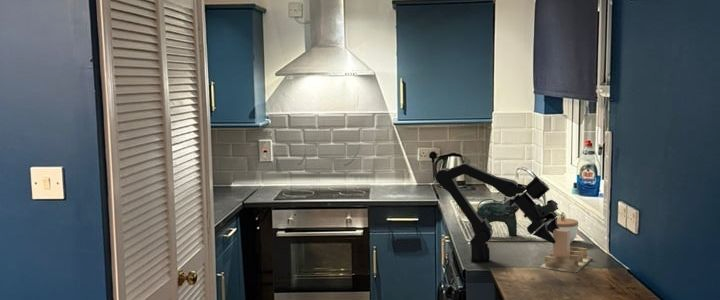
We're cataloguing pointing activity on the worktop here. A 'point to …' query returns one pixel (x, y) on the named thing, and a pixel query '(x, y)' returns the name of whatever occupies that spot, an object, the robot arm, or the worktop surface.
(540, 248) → the worktop surface
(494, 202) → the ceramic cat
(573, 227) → the lidded bowl
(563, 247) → the tan rectangular block
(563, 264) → the drying rack
